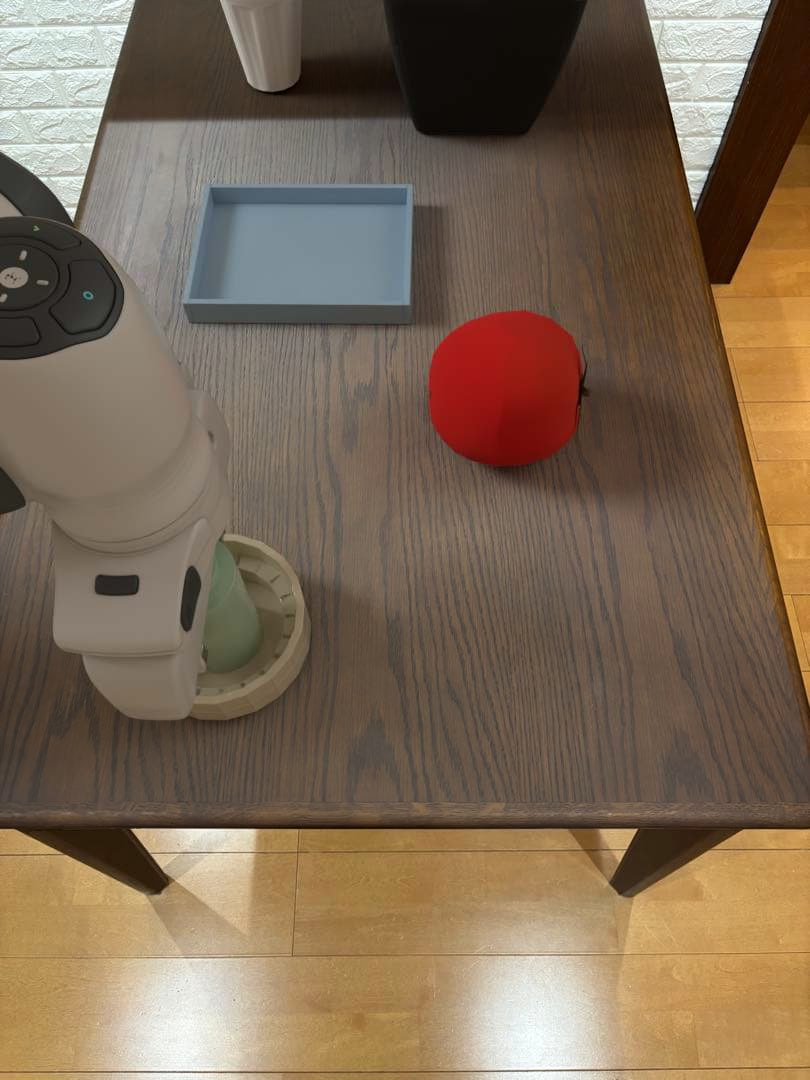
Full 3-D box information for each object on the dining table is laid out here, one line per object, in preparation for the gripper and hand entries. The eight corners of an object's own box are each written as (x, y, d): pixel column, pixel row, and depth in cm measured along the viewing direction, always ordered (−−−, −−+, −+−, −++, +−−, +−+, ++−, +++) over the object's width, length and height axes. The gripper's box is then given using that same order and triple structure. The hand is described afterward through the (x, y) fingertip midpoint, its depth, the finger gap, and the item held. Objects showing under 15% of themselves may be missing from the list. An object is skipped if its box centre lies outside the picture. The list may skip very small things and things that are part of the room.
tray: (188, 322, 79) (181, 303, 76) (211, 203, 86) (205, 183, 84) (410, 324, 78) (409, 305, 76) (413, 204, 86) (413, 183, 83)
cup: (334, 74, 96) (323, -49, 84) (273, 117, 92) (252, -5, 81) (274, 40, 99) (255, -83, 87) (213, 81, 95) (184, -42, 84)
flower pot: (563, 156, 89) (592, -8, 74) (387, 157, 89) (381, -6, 74) (550, 48, 97) (574, -119, 82) (390, 49, 98) (385, -116, 83)
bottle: (180, 672, 62) (103, 577, 47) (191, 598, 65) (122, 487, 50) (259, 673, 62) (207, 579, 47) (267, 599, 65) (221, 488, 49)
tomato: (422, 458, 75) (569, 472, 74) (418, 460, 62) (594, 476, 62) (435, 316, 73) (585, 328, 73) (433, 288, 61) (614, 303, 60)
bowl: (127, 721, 61) (104, 702, 57) (156, 561, 67) (137, 532, 63) (304, 724, 61) (295, 705, 56) (317, 563, 67) (310, 534, 62)
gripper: (120, 344, 49) (181, 468, 62) (44, 673, 40) (133, 742, 52) (225, 344, 49) (265, 469, 61) (173, 675, 40) (232, 744, 52)
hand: (204, 596), depth 57 cm, fingers open, 8 cm apart
